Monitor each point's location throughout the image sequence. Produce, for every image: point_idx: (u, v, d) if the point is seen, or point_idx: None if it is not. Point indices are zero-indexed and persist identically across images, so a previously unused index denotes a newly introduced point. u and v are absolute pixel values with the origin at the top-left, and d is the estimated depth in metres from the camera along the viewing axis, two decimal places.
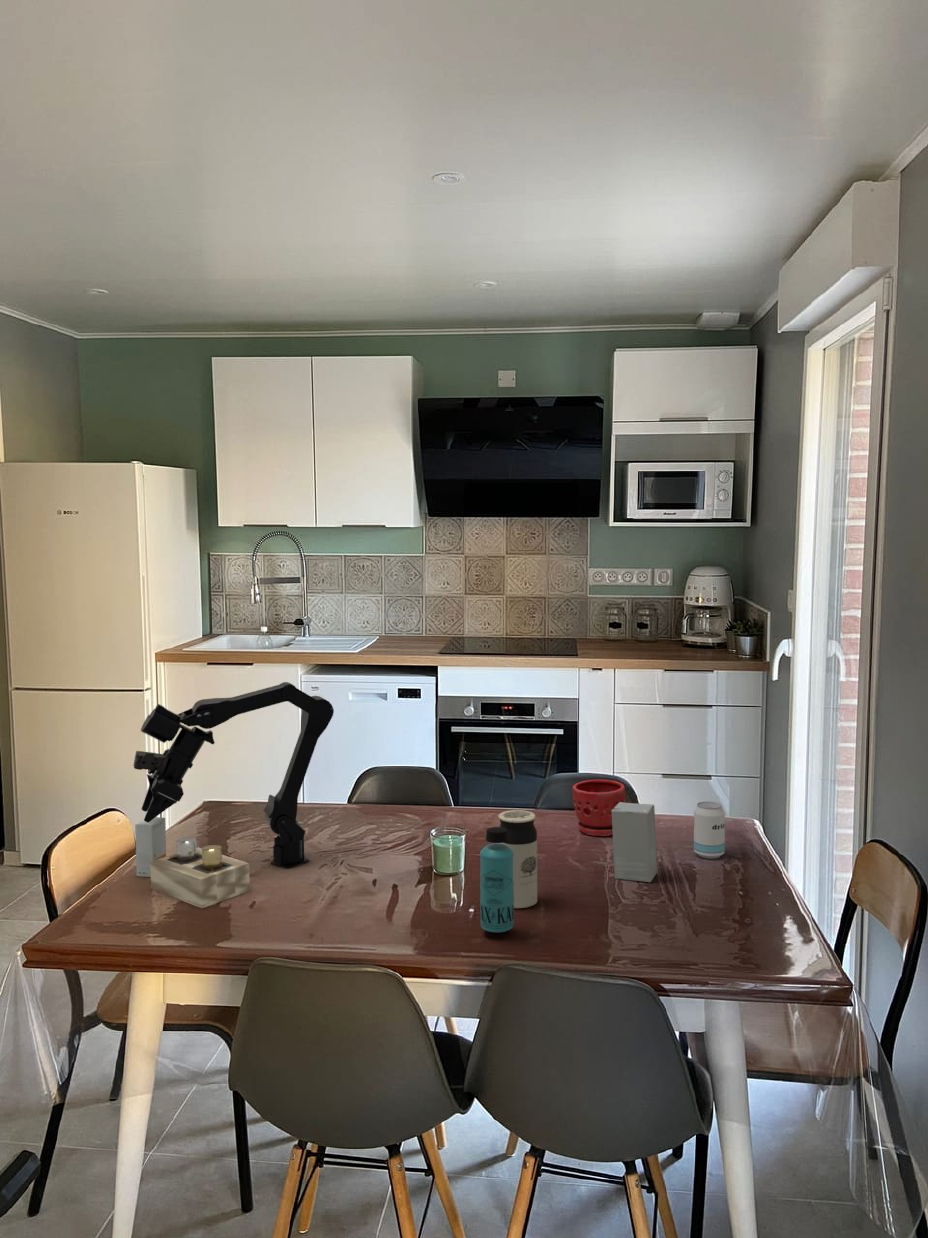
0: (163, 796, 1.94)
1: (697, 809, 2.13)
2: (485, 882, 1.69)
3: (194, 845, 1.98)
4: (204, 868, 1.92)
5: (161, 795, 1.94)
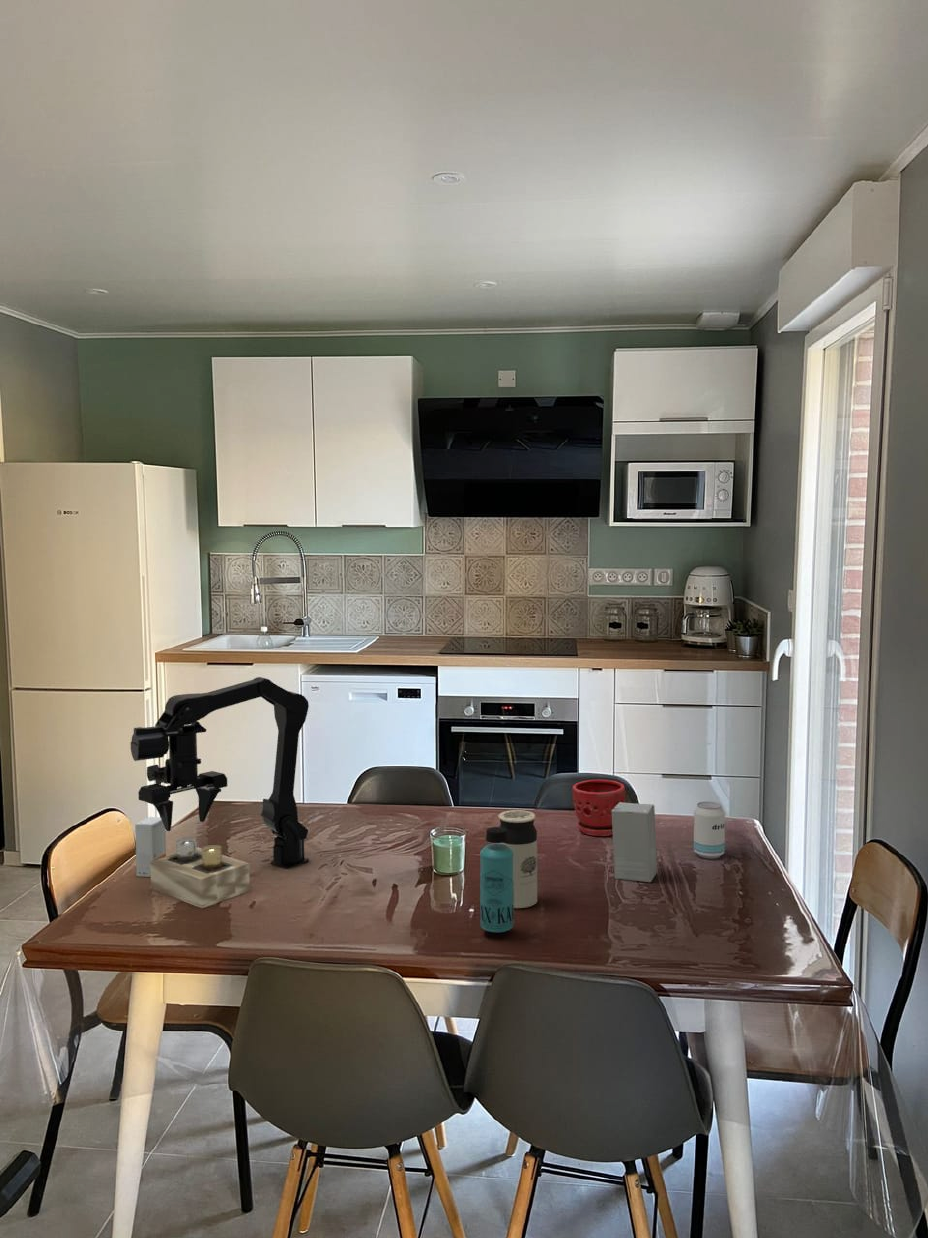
0: None
1: (697, 809, 2.13)
2: (485, 882, 1.69)
3: (194, 845, 1.98)
4: (204, 868, 1.92)
5: None
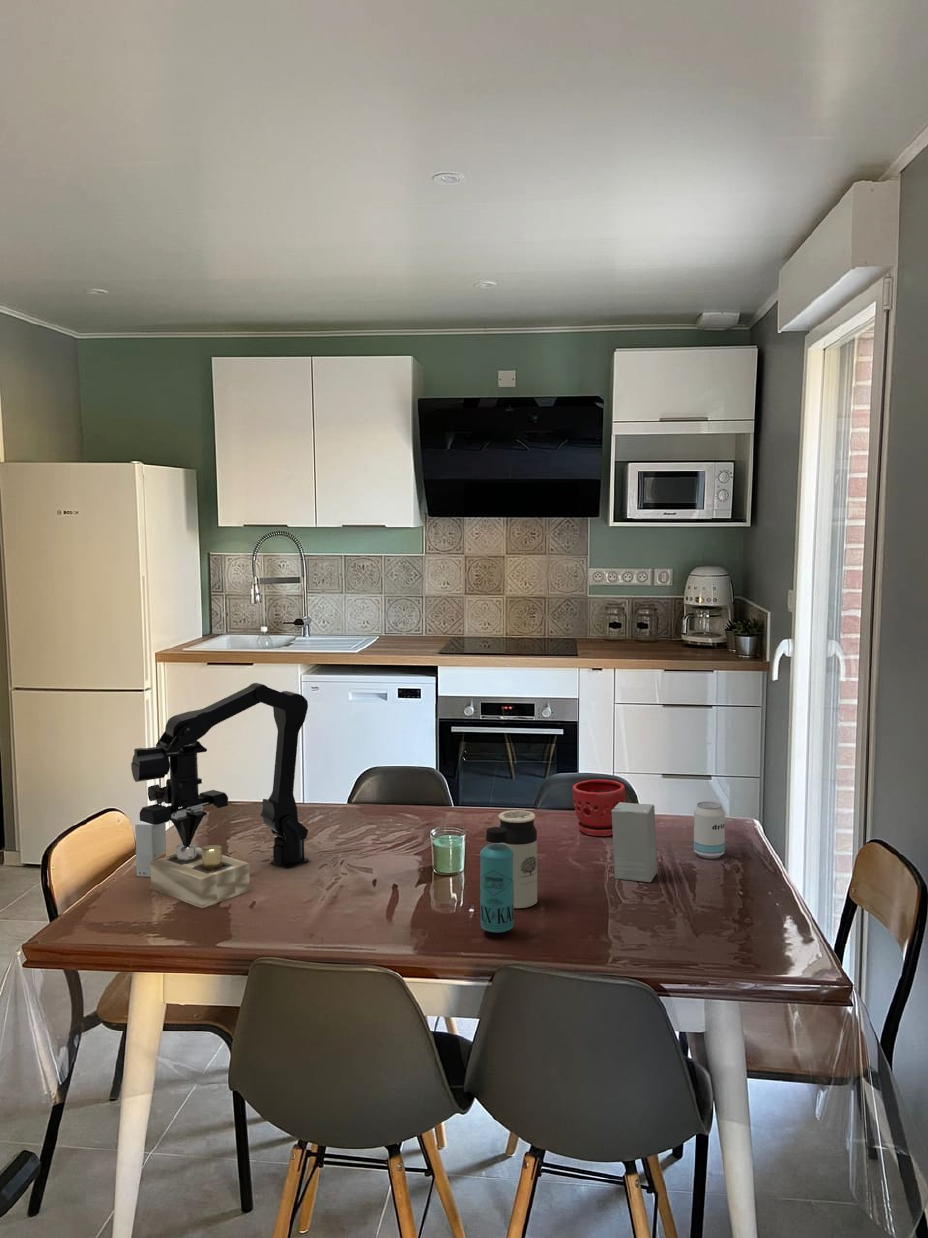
0: (170, 818, 1.96)
1: (697, 809, 2.13)
2: (485, 882, 1.69)
3: (194, 851, 1.99)
4: (204, 868, 1.92)
5: None
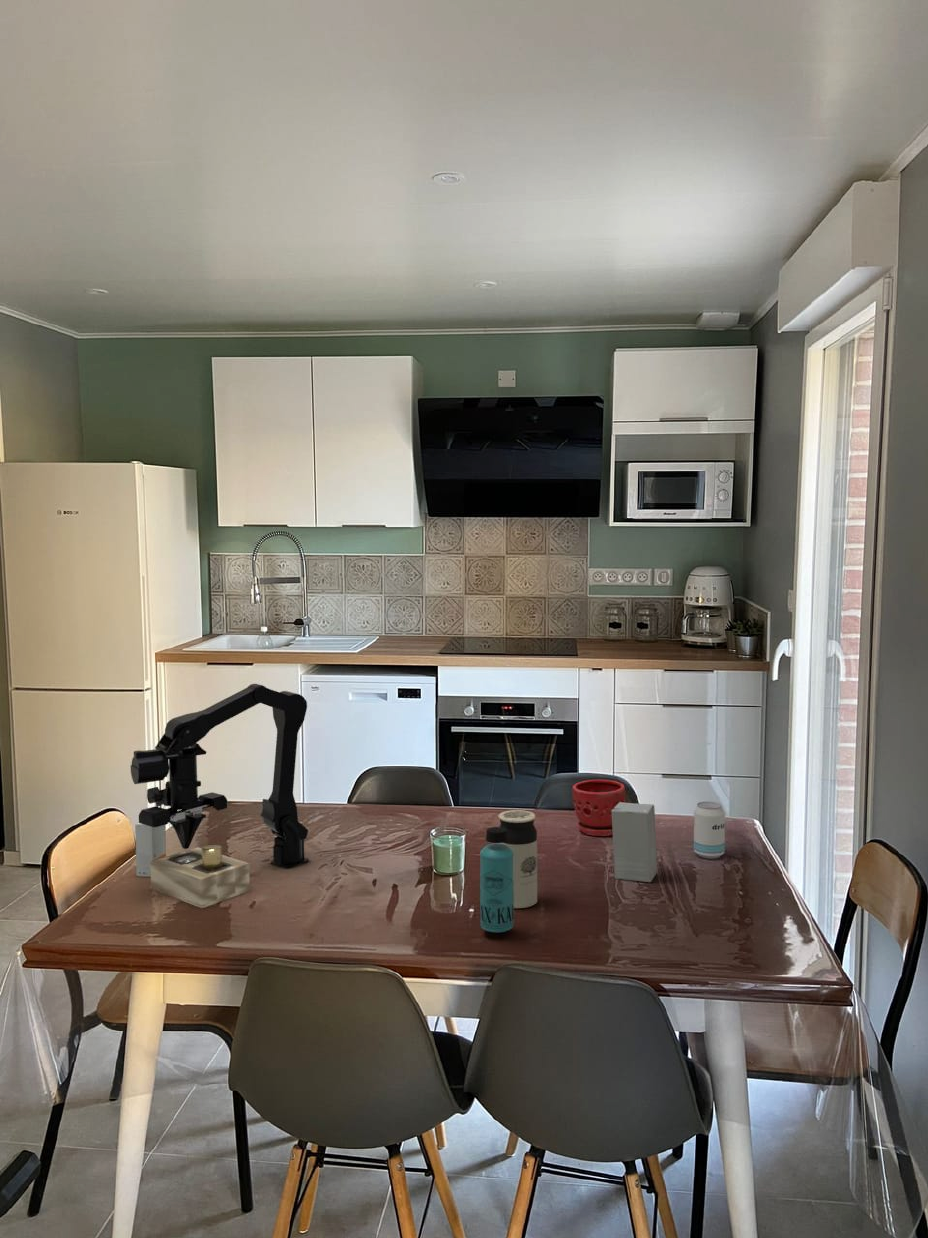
0: (169, 821, 1.96)
1: (697, 809, 2.13)
2: (485, 882, 1.69)
3: None
4: (204, 868, 1.92)
5: None
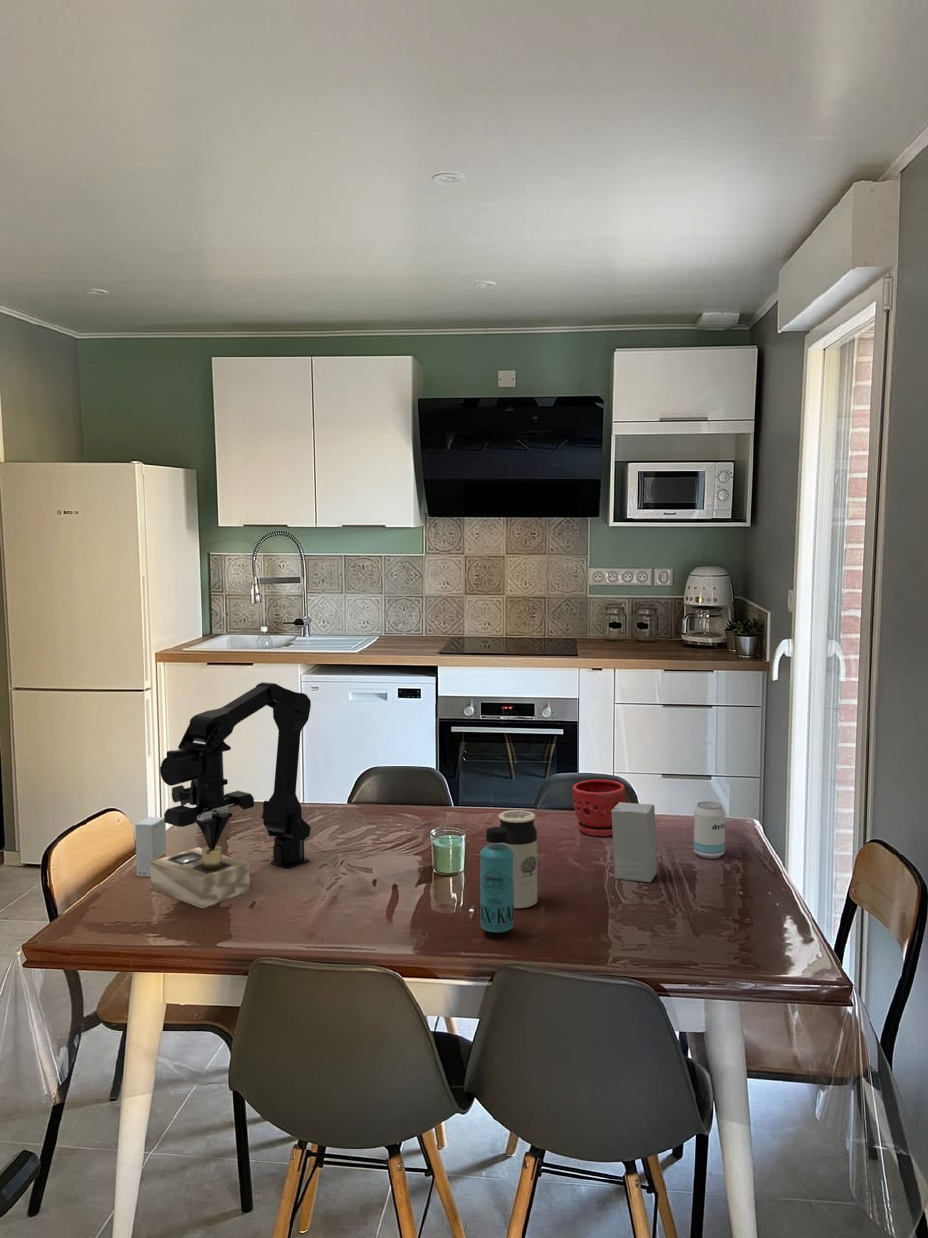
0: (195, 820, 1.90)
1: (697, 809, 2.13)
2: (485, 882, 1.69)
3: None
4: (204, 868, 1.92)
5: None
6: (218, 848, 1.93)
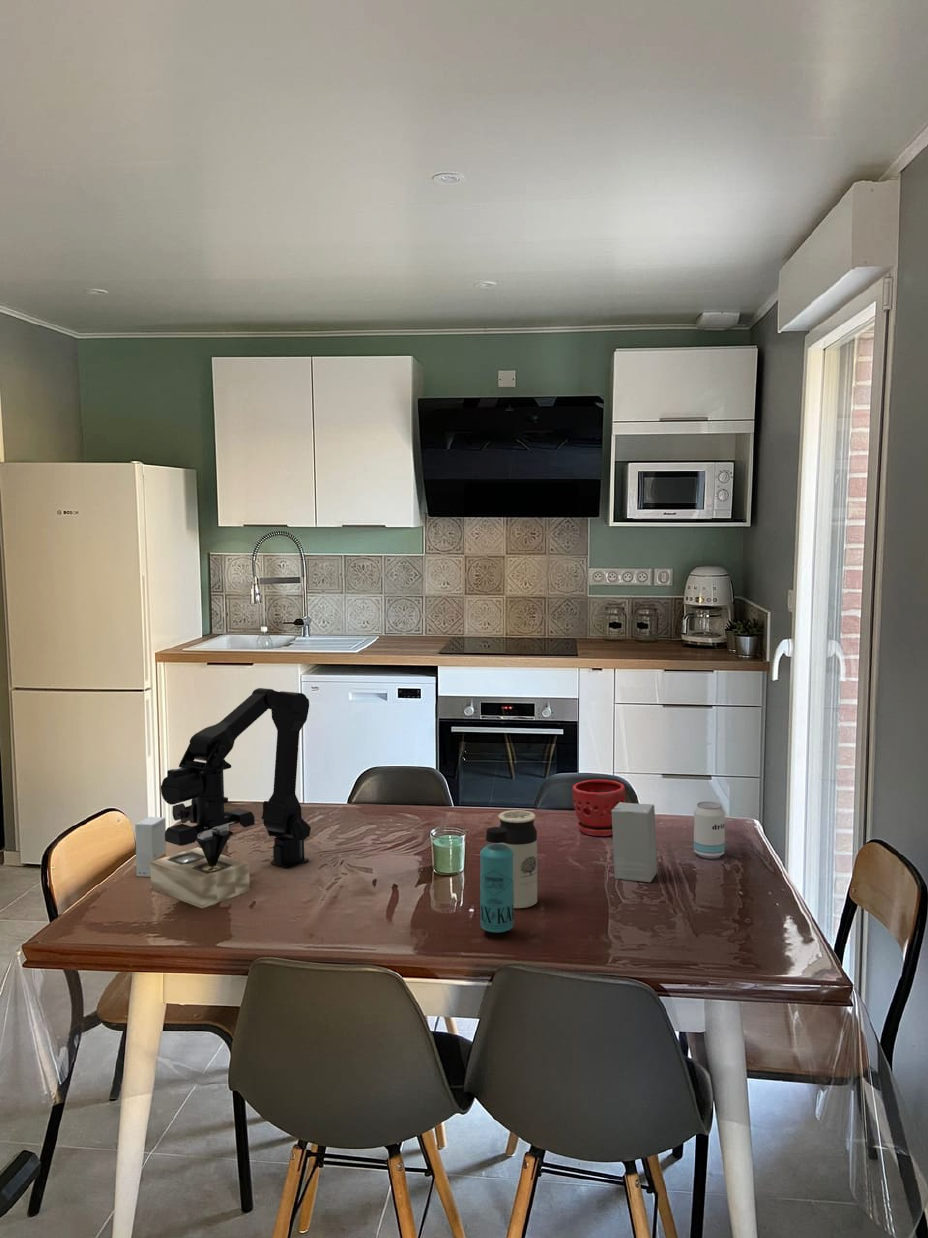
0: None
1: (697, 809, 2.13)
2: (485, 882, 1.69)
3: None
4: None
5: None
6: (219, 867, 1.93)
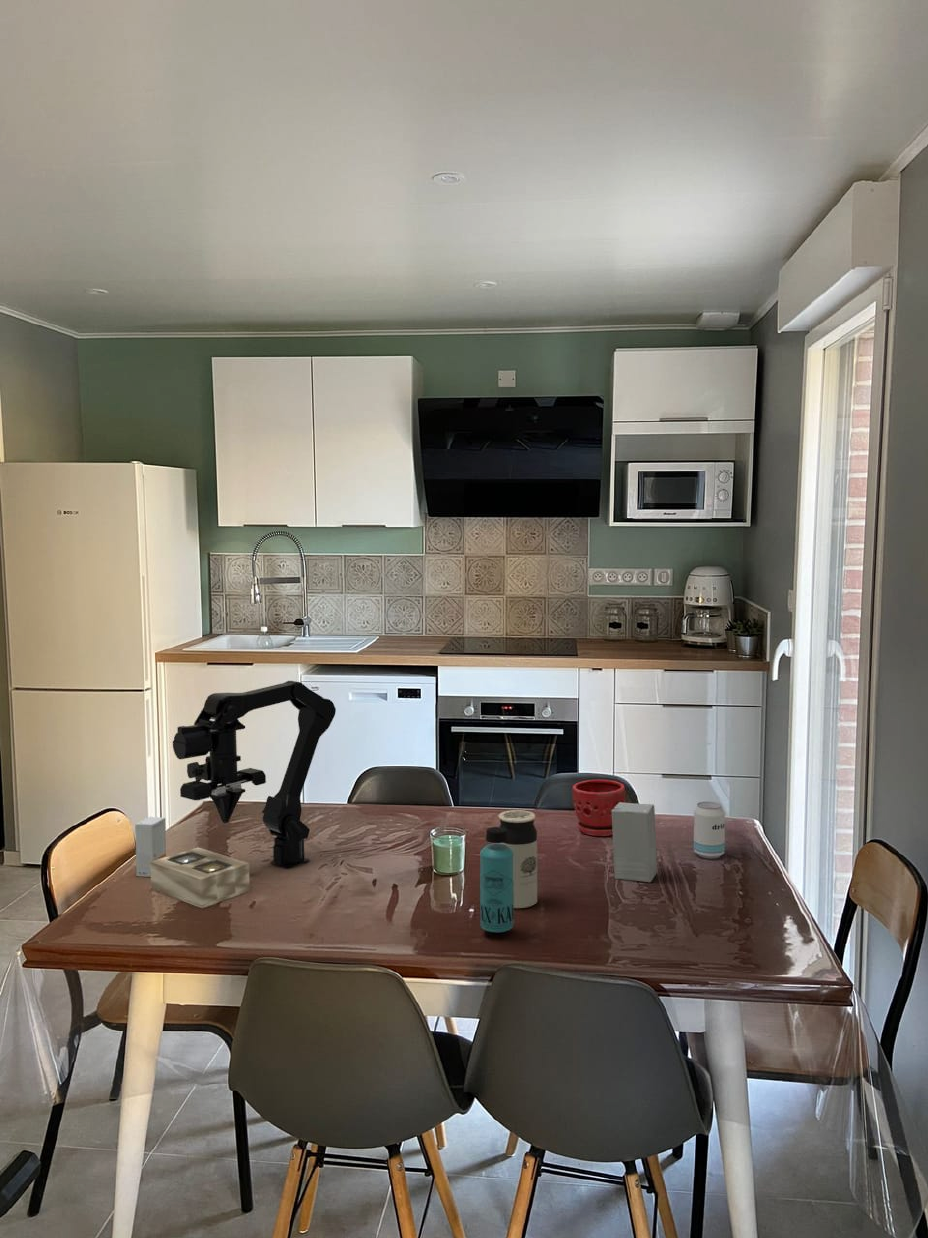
0: (209, 795, 1.98)
1: (697, 809, 2.13)
2: (485, 882, 1.69)
3: None
4: None
5: None
6: (219, 867, 1.93)
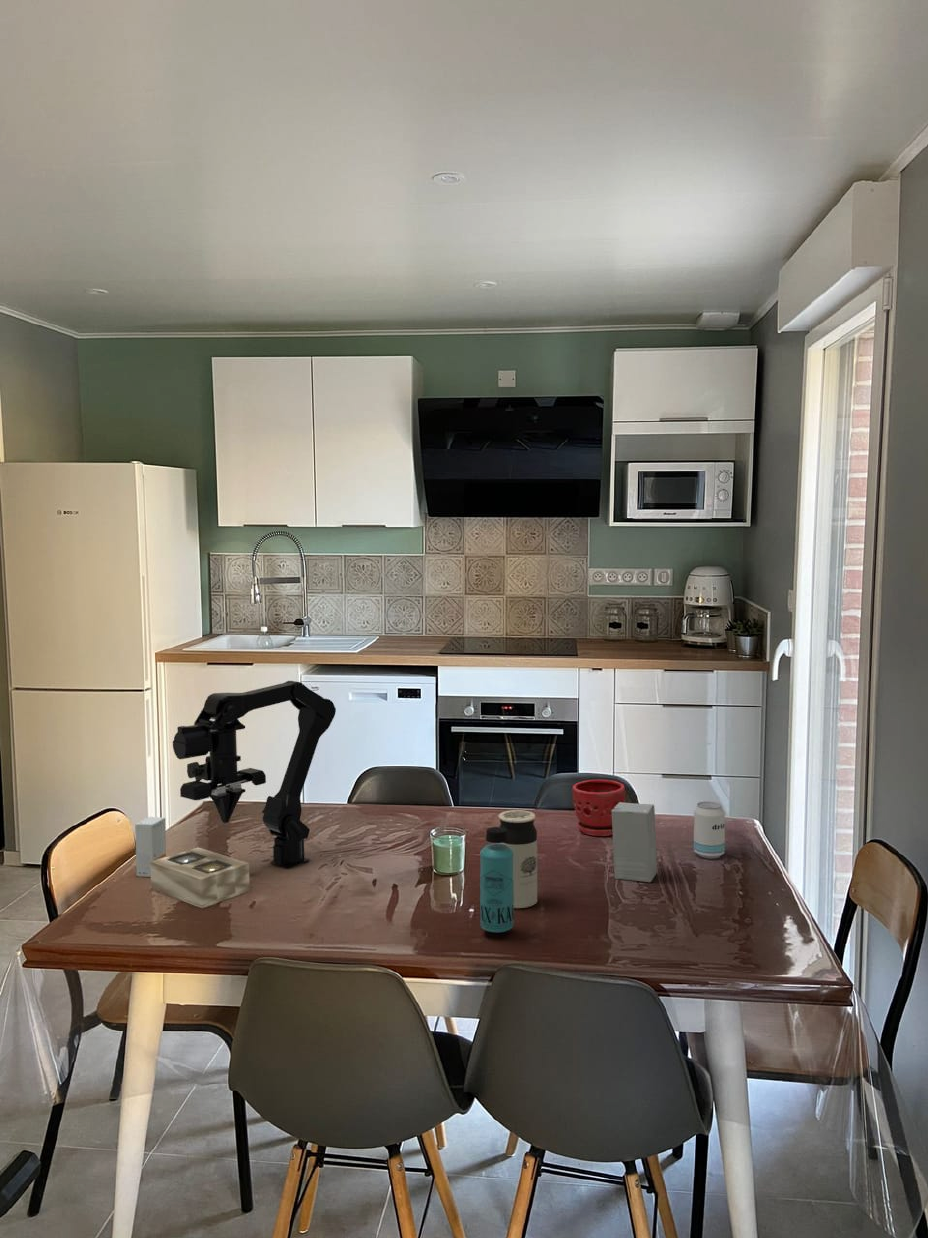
0: (209, 795, 1.98)
1: (697, 809, 2.13)
2: (485, 882, 1.69)
3: None
4: None
5: None
6: (219, 867, 1.93)
